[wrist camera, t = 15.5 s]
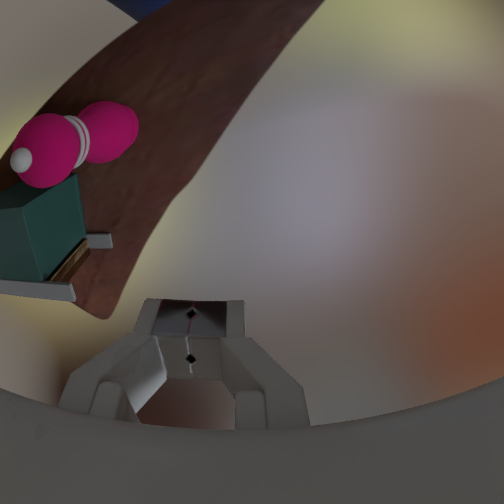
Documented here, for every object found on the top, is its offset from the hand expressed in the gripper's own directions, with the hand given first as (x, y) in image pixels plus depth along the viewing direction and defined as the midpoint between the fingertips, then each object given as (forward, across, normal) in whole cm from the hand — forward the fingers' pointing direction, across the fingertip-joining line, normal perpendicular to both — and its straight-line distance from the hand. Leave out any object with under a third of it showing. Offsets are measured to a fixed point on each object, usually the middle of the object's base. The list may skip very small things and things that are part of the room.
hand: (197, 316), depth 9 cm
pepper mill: (+29, +14, -4) cm, 33 cm away
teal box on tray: (+29, +24, +7) cm, 38 cm away
